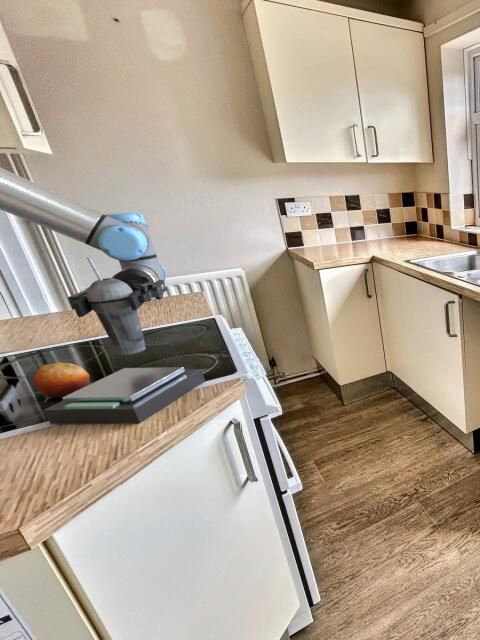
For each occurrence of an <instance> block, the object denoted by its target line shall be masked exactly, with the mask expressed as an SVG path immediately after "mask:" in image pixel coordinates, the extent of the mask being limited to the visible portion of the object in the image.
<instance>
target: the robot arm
mask: <svg viewBox="0 0 480 640" xmlns="http://www.w3.org/2000/svg"><path fill="white" fill-rule="evenodd" d="M0 211H3V212H5V213H8V214H11V215H13V216H15V217H18V218H20V219H23V220H25V221H28V222H30V223H33V224H36V225H38V226H40V227H43V228H45V229H48V230H51V231H52V232H55V233H58V234H60V235H62V236H65V237H68V238H69V239H72V240H75V241H77V242H81V243H82V244H85V245H87V246H89V247H91V248H94V249H96V250H98V251H101V252H103V253H104V254H105V255H106V256H107V257H109V258H111V259H113V260H117V261H118V263H119V266H120V268H121V270H119V271H118V272H117V273H115V274H114V275H112V277H111V278H113V279H117V280H120V281H123V282H124V283H126V284H127V285H128V286H129V287H130V288H131V289H132V291H133V293H132V294H130V295H129V296H128V297H127V298H128V301H129V303H130V306H131V309H132V310H137V311H138V309H140V308H141V307H142V305H143V304H144V303H147V302H150V301H151V302H152V300H153V299H155V300H162V299H163V298H164V293H165V292H167V291H168V288H167V286H166V283H165V281H166V278H167V271H166V269H165V267H164V266H163V265H162V264H161V263H160V261H159V258H158V255H157V253H156V251H155V247H154V244H153V240H152V237H151V234H150V231H149V226H148V224H147V222H146V220H145V218H144V215H143V214H142V213H139V212H121V213H119V212H118V213H107V214H105V213H102V212H100V211H97V210H96V209H94V208H91V207H89V206H87V205H84V204H83V203H80V202H77V201H75V200H74V199H71V198H69V197H67V196H64V195H62V194H60V193H58V192H56V191H53V190H51V189H49V188H47V187H44V186H42V185H40V184H38V183H35V182H34V181H32V180H29V179H27V178H25V177H23V176H20V175H19V174H16V173H14V172H11V171H9V170H7V169H5V168H3V167H0ZM89 287H90V286H88V287H86V288H85V289H84V290H81V291H79V292H76V293H75V294H73V295H70V296H68V297H67V300H68V303H69V305H70V308H71V309H72V310H74V311H75V313H76V316H77V318H83V317H85V316H86V315H88V314H89V313H91V312H93V311H94V310H93V309H92V308H91V306H90V304H89V303H88V299H87V291H88V288H89Z"/></svg>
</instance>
